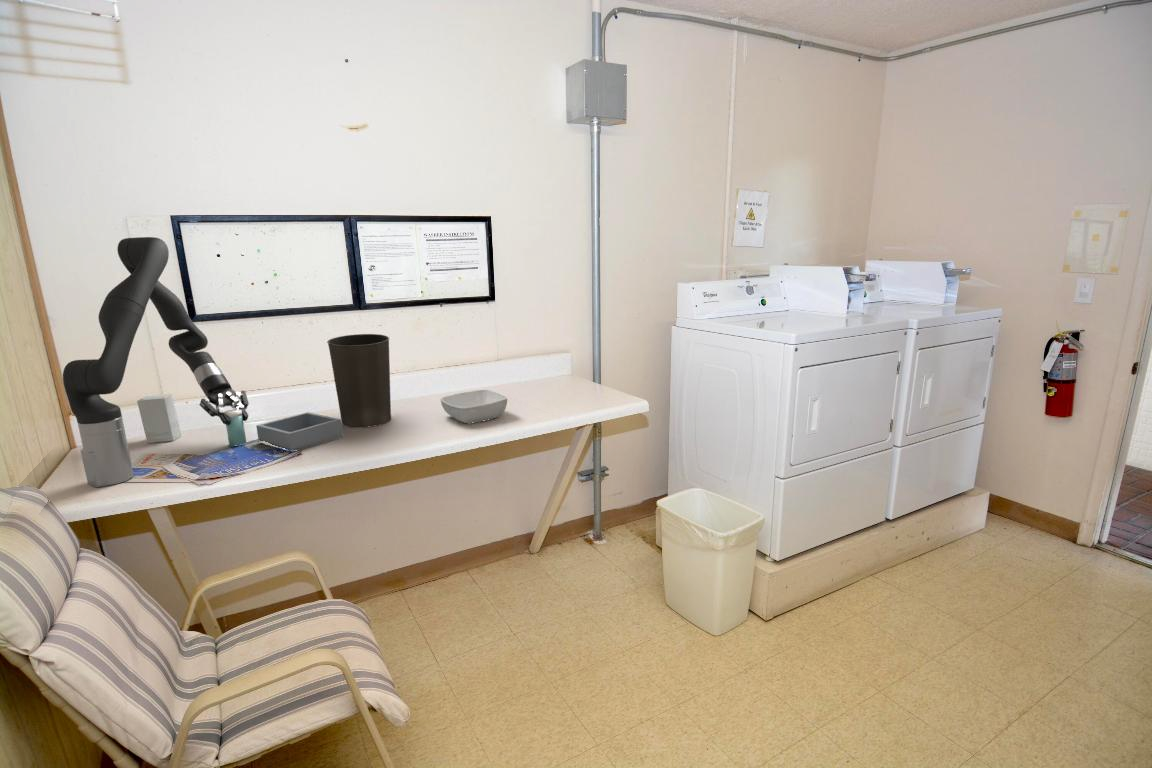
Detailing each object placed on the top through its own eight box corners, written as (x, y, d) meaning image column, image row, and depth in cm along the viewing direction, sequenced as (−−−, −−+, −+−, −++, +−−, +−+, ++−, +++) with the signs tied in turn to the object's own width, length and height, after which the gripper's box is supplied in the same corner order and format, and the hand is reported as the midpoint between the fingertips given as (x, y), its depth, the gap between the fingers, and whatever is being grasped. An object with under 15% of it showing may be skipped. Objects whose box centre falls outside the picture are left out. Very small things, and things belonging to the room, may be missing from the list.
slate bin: (291, 452, 177) (289, 433, 175) (258, 443, 186) (256, 425, 185) (342, 436, 191) (340, 419, 190) (309, 428, 201) (307, 412, 199)
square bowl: (461, 429, 197) (459, 407, 196) (437, 416, 213) (435, 396, 212) (513, 418, 209) (512, 398, 207) (486, 407, 225) (485, 388, 224)
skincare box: (181, 436, 195) (174, 393, 192) (173, 441, 189) (165, 397, 186) (154, 438, 193) (146, 395, 190) (144, 443, 188) (136, 399, 184)
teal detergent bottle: (234, 447, 182) (229, 414, 180) (226, 445, 185) (221, 412, 182) (249, 443, 186) (244, 410, 184) (241, 441, 189) (236, 408, 186)
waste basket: (399, 427, 200) (392, 342, 193) (336, 435, 193) (326, 346, 186) (393, 409, 225) (386, 332, 218) (337, 415, 217) (328, 336, 211)
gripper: (190, 377, 178) (216, 420, 175) (237, 369, 190) (263, 409, 186) (185, 392, 182) (210, 434, 179) (231, 383, 194) (256, 422, 190)
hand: (237, 421), depth 183 cm, fingers closed on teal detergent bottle, 4 cm apart
